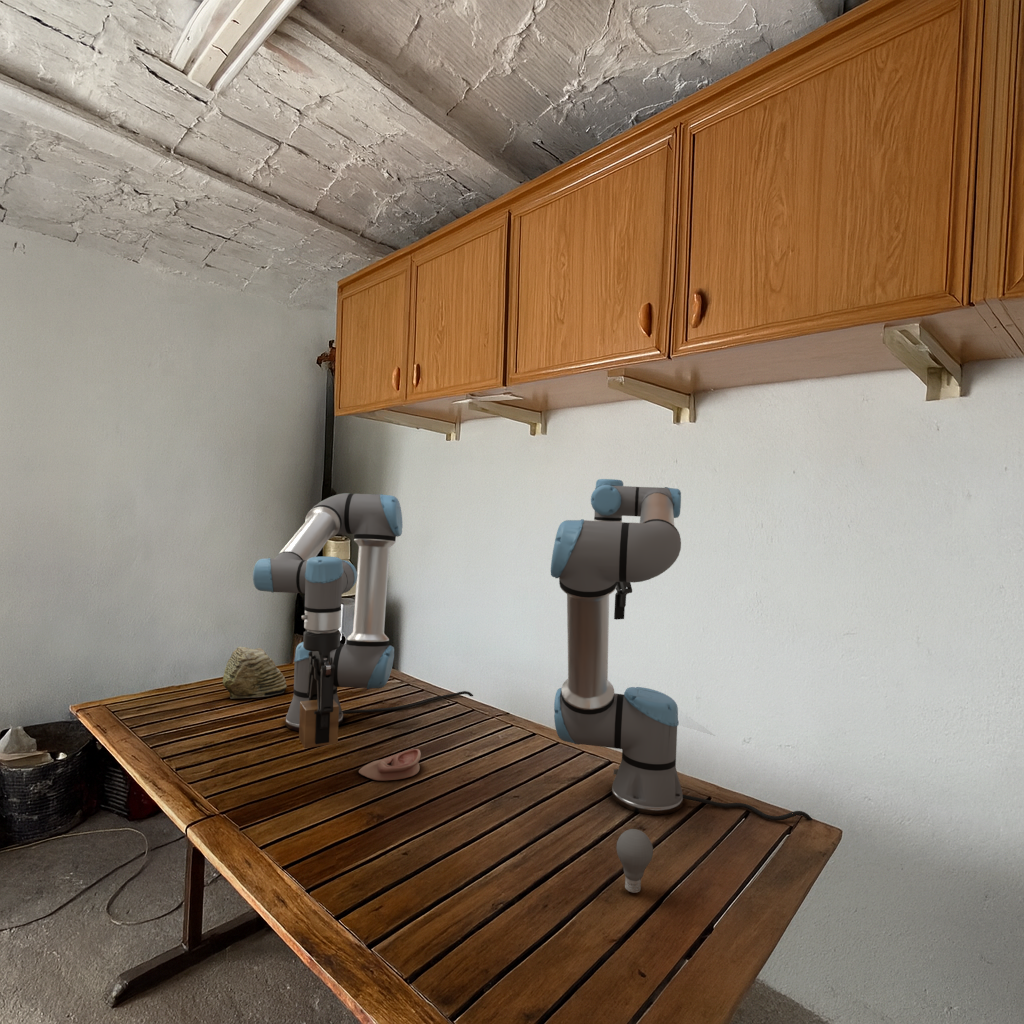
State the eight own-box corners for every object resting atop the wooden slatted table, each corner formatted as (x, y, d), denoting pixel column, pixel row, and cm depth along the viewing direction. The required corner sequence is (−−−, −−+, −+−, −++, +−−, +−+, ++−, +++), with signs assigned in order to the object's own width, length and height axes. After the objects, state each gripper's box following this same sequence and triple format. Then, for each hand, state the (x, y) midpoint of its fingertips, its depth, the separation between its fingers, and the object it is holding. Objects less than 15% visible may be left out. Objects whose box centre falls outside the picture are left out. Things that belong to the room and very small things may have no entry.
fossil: (218, 695, 195) (220, 647, 195) (278, 685, 208) (279, 640, 207) (228, 703, 189) (230, 653, 188) (289, 692, 201) (290, 645, 201)
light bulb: (610, 879, 108) (613, 822, 108) (644, 879, 109) (647, 822, 109) (619, 902, 102) (622, 840, 102) (655, 901, 103) (658, 840, 103)
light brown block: (298, 738, 136) (300, 701, 136) (331, 733, 140) (332, 697, 140) (304, 748, 131) (305, 710, 131) (337, 743, 135) (339, 706, 134)
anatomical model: (353, 759, 143) (374, 741, 154) (352, 777, 143) (373, 757, 154) (408, 767, 140) (426, 748, 152) (408, 785, 140) (425, 764, 152)
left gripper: (295, 621, 141) (292, 724, 142) (313, 641, 125) (309, 756, 125) (329, 619, 145) (325, 719, 146) (351, 638, 128) (347, 750, 129)
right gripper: (570, 533, 181) (566, 607, 181) (625, 539, 159) (621, 624, 159) (591, 533, 184) (588, 606, 184) (648, 539, 162) (644, 622, 163)
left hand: (318, 736), depth 136 cm, fingers closed on light brown block, 6 cm apart
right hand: (603, 614), depth 172 cm, fingers open, 13 cm apart
